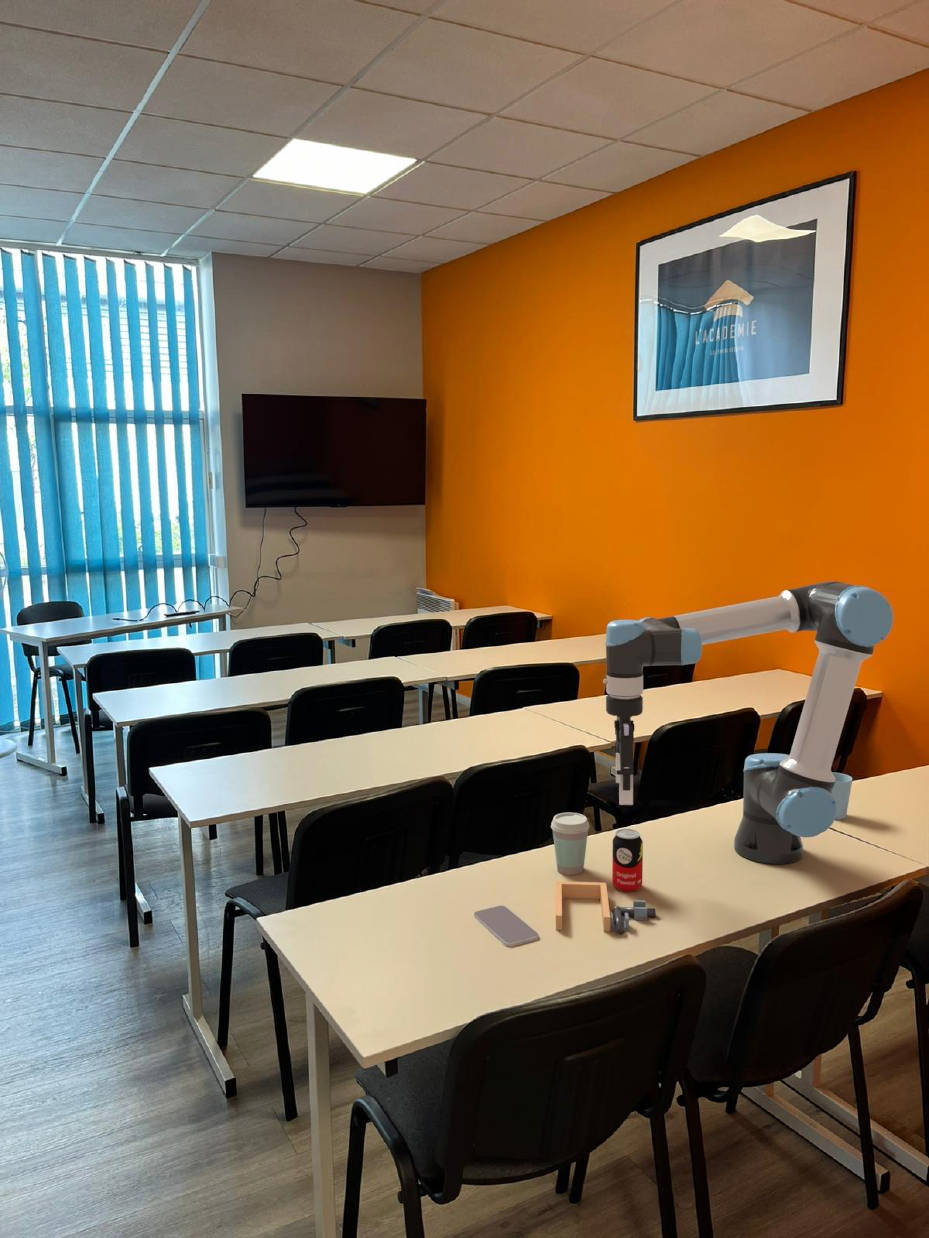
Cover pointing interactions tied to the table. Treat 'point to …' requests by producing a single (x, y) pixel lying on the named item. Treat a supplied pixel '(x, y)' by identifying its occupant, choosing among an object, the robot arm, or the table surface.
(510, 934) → the smartphone
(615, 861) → the beverage can
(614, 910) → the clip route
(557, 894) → the end holder
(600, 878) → the table surface
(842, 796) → the cup
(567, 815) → the coffee cup
